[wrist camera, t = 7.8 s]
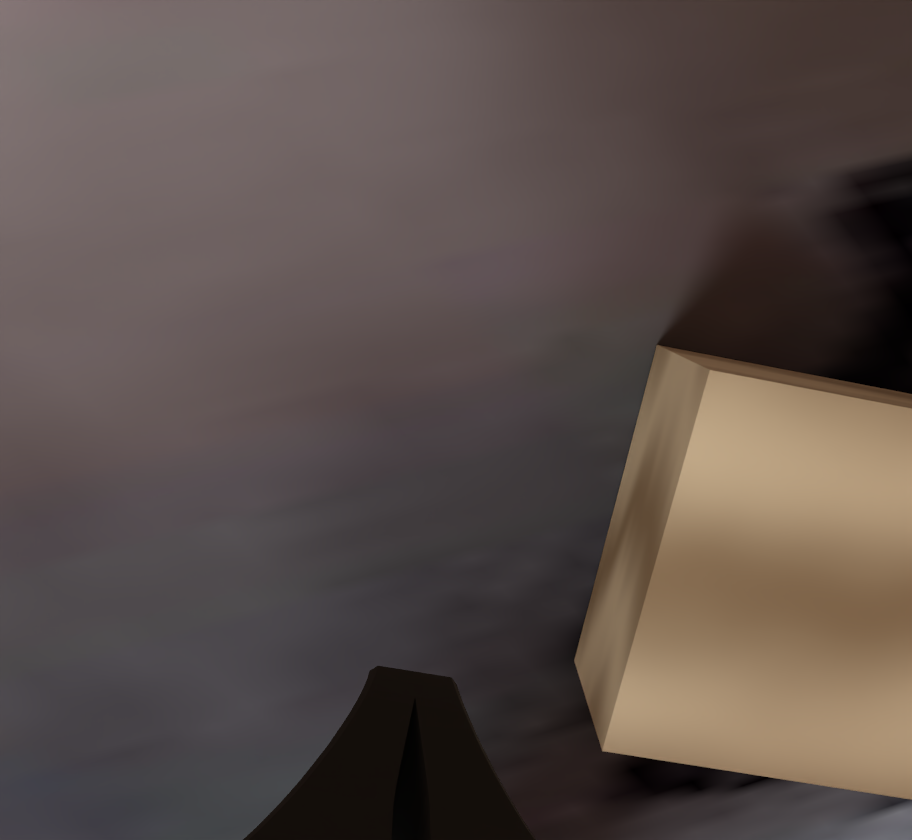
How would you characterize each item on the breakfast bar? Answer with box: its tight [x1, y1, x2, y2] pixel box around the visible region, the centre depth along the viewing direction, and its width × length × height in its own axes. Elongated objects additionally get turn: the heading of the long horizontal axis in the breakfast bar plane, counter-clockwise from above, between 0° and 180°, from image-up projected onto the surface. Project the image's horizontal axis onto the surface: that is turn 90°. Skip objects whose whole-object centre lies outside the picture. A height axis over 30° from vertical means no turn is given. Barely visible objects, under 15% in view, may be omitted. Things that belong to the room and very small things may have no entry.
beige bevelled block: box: [574, 345, 912, 799], centre depth 19 cm, size 10×9×4 cm
